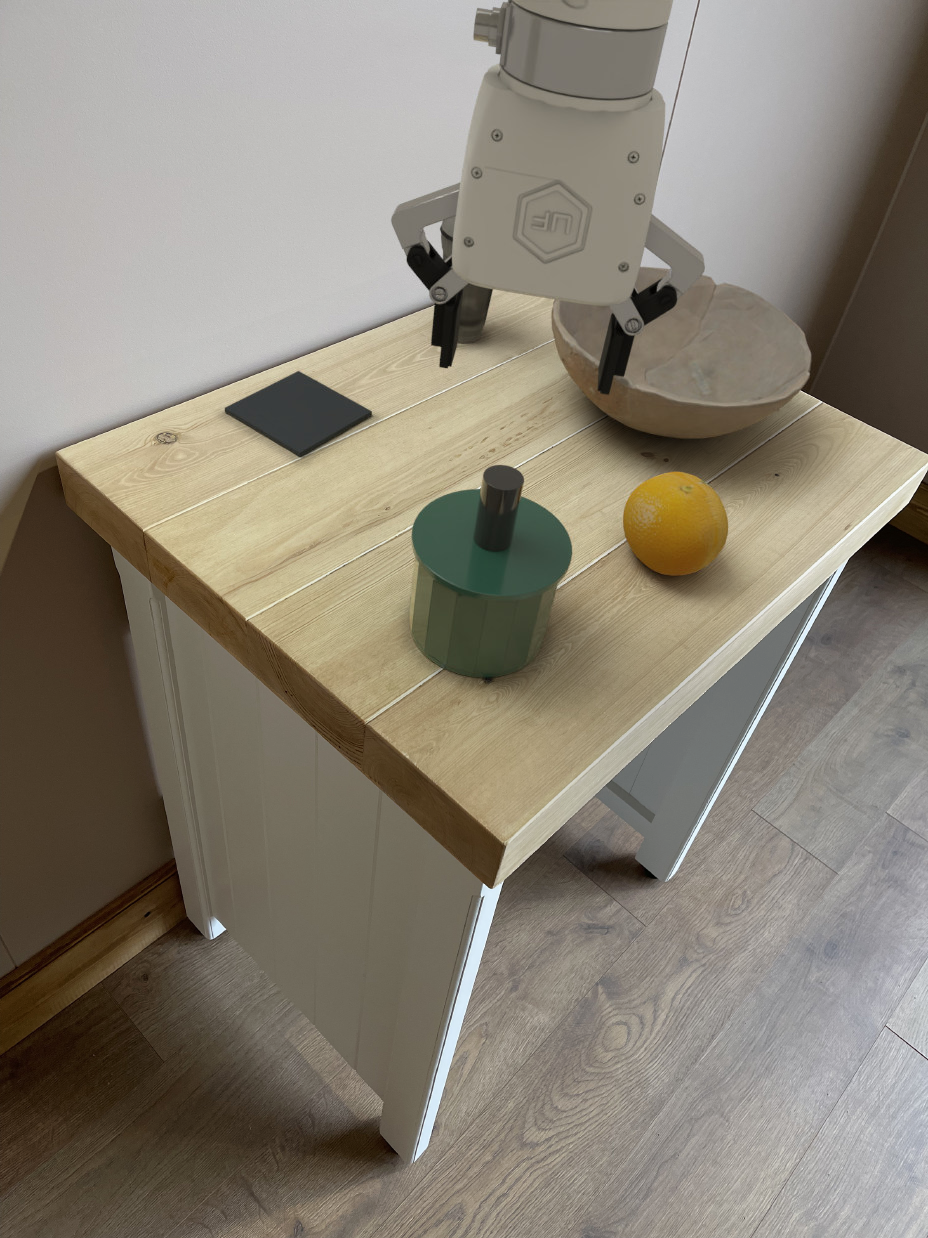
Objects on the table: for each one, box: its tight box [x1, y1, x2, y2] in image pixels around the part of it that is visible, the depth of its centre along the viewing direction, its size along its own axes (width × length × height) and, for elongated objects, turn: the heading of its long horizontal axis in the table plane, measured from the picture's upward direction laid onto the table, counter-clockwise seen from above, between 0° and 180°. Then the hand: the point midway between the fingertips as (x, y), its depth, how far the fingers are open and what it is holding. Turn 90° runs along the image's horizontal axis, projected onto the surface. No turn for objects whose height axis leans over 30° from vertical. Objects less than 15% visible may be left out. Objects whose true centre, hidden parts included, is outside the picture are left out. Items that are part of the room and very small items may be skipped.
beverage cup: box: [439, 216, 494, 344], centre depth 97 cm, size 7×7×20 cm
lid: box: [410, 464, 573, 602], centre depth 64 cm, size 12×12×7 cm
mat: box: [224, 370, 373, 458], centre depth 90 cm, size 10×10×1 cm
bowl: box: [550, 266, 812, 439], centre depth 94 cm, size 26×26×10 cm
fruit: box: [622, 471, 729, 576], centre depth 78 cm, size 9×8×8 cm
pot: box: [408, 556, 559, 679], centre depth 69 cm, size 11×11×8 cm
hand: (525, 369), depth 56 cm, fingers open, 9 cm apart
